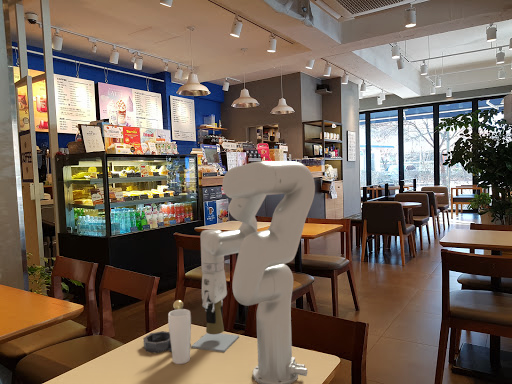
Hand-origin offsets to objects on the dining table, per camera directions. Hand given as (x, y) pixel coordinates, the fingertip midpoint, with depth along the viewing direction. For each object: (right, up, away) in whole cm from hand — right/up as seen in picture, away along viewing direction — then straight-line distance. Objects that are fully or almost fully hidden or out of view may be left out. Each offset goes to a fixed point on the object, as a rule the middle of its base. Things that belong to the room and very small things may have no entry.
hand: (214, 319), depth 133 cm
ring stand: (-16, -9, -2) cm, 18 cm away
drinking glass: (-9, -9, -12) cm, 18 cm away
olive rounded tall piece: (0, -4, 0) cm, 4 cm away
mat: (0, -8, 0) cm, 8 cm away
